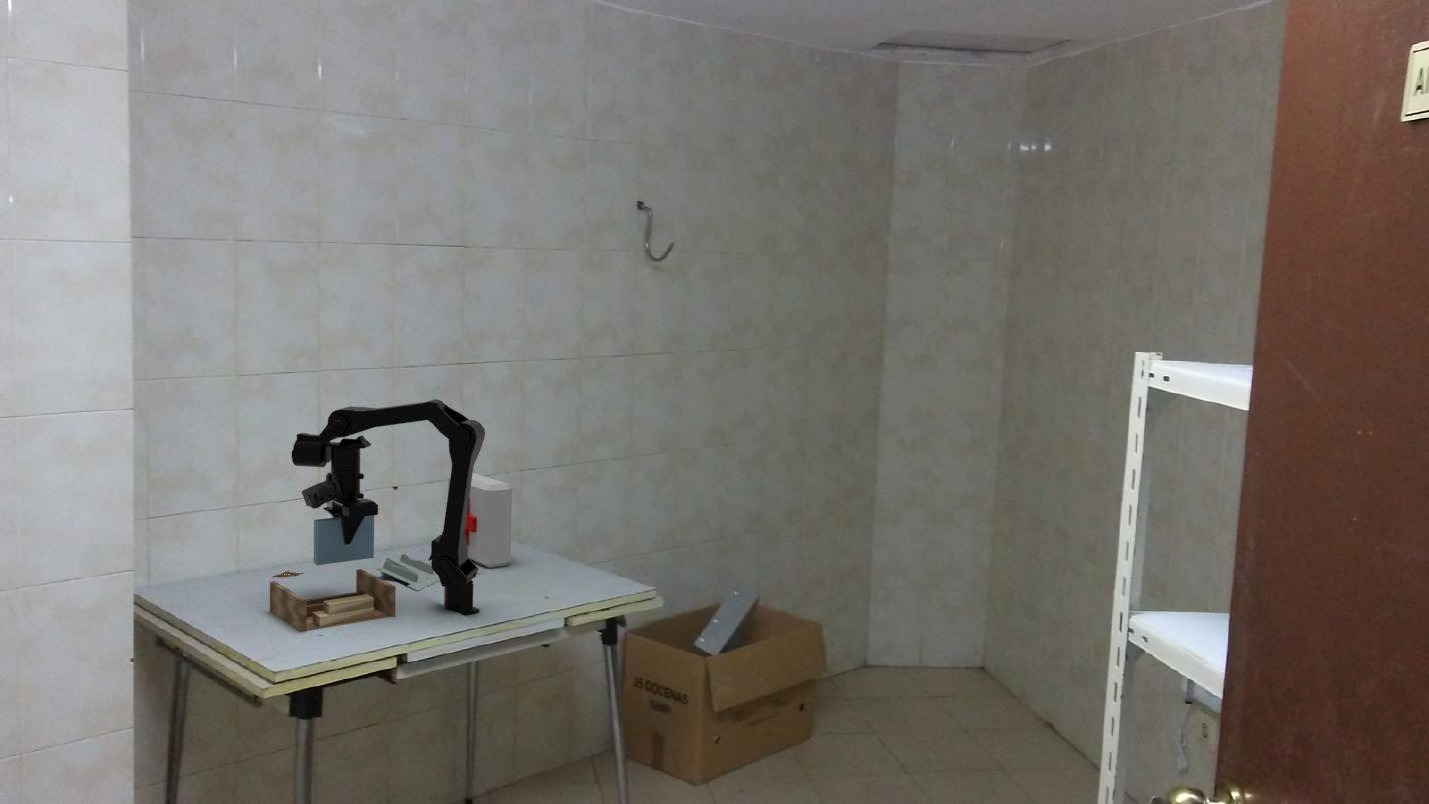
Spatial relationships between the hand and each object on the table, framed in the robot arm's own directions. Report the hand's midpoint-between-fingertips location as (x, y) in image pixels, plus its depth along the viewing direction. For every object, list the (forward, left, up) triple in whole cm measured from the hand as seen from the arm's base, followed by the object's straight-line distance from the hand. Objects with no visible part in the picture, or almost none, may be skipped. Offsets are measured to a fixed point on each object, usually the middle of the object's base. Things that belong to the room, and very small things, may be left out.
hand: (345, 543), depth 242 cm
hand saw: (+25, +9, -14) cm, 29 cm away
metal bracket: (+10, -20, -14) cm, 26 cm away
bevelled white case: (+20, -42, -13) cm, 48 cm away
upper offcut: (-13, +5, -10) cm, 17 cm away
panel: (0, 0, -4) cm, 4 cm away
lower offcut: (-13, +6, -12) cm, 19 cm away
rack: (-8, +6, -13) cm, 16 cm away
